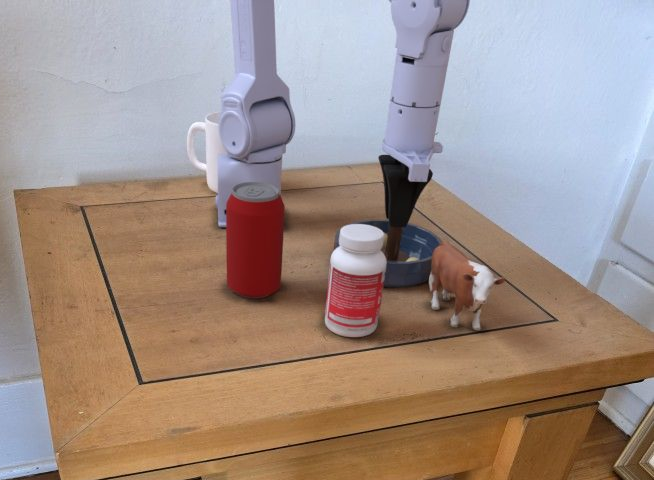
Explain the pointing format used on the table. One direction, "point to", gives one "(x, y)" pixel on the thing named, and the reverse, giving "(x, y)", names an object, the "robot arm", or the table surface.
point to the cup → (207, 148)
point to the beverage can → (254, 239)
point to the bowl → (414, 245)
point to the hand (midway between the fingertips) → (395, 222)
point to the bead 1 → (384, 241)
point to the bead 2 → (412, 259)
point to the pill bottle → (356, 281)
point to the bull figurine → (460, 282)
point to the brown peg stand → (394, 245)
